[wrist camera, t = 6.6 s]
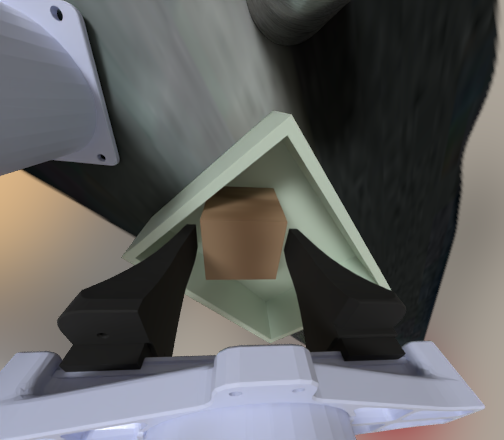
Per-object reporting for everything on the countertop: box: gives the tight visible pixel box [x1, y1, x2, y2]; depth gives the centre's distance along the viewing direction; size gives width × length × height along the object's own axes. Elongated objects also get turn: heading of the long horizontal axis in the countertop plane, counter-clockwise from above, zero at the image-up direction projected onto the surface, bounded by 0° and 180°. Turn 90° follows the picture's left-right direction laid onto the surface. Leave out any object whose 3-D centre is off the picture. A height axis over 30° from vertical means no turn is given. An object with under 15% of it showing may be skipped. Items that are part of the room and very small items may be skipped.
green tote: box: [121, 110, 391, 343], centre depth 16 cm, size 17×13×5 cm
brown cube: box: [200, 186, 288, 280], centre depth 14 cm, size 5×5×5 cm
